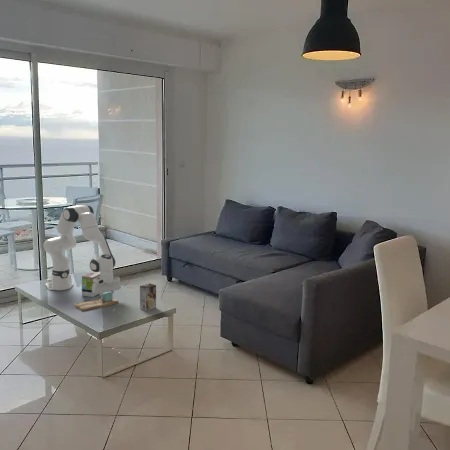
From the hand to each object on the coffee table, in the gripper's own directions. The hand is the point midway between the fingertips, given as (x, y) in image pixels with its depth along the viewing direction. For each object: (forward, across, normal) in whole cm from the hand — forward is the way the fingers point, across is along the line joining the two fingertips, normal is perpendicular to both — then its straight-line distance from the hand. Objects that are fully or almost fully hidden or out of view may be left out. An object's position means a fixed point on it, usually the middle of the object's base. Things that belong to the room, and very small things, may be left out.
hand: (106, 297), depth 313 cm
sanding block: (+2, 0, 0) cm, 2 cm away
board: (+3, +7, 0) cm, 8 cm away
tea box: (+4, -2, -23) cm, 23 cm away
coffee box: (+4, -16, +27) cm, 31 cm away
